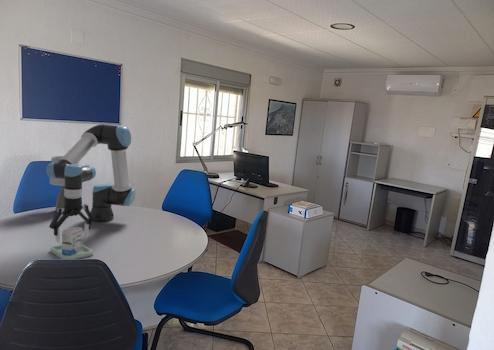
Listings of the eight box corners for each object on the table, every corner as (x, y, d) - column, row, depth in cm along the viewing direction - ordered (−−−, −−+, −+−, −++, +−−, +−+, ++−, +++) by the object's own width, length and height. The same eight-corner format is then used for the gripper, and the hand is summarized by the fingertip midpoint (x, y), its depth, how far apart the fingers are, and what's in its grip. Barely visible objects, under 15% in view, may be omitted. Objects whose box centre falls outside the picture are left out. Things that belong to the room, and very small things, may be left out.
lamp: (58, 216, 219) (59, 160, 213) (43, 210, 228) (43, 156, 223) (85, 211, 235) (86, 159, 229) (69, 206, 244) (71, 155, 239)
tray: (78, 245, 176) (78, 241, 176) (92, 255, 166) (92, 251, 166) (50, 251, 166) (50, 246, 166) (64, 262, 156) (64, 257, 156)
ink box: (70, 255, 161) (70, 232, 160) (61, 254, 162) (61, 230, 161) (82, 249, 170) (83, 227, 168) (73, 248, 171) (74, 225, 169)
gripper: (94, 192, 174) (93, 231, 177) (41, 198, 155) (41, 241, 158) (102, 195, 169) (100, 235, 173) (47, 201, 150) (47, 246, 153)
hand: (72, 238), depth 165 cm, fingers open, 13 cm apart
